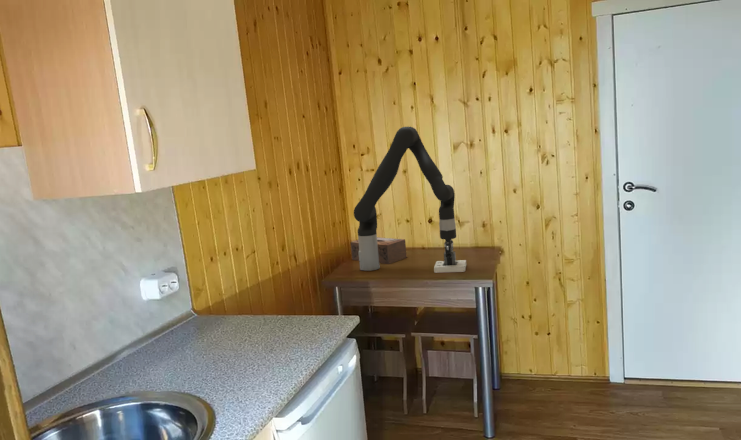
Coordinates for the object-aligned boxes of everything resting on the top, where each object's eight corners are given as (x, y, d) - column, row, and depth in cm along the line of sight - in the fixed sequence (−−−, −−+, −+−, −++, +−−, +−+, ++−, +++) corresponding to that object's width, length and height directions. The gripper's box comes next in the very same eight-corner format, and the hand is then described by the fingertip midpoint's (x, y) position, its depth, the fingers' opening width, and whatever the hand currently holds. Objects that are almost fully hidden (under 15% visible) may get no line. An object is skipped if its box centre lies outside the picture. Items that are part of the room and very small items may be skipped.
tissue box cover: (406, 258, 305) (405, 239, 303) (389, 264, 294) (387, 245, 293) (370, 254, 322) (368, 236, 320) (352, 260, 312) (350, 242, 310)
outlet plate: (434, 272, 269) (433, 267, 268) (437, 266, 280) (436, 261, 280) (464, 271, 266) (464, 266, 265) (466, 265, 277) (466, 259, 277)
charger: (444, 266, 271) (443, 253, 270) (445, 264, 275) (444, 251, 274) (455, 265, 270) (454, 253, 269) (456, 263, 274) (455, 251, 273)
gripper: (441, 225, 278) (443, 260, 280) (437, 231, 264) (440, 268, 267) (456, 224, 276) (459, 260, 279) (454, 230, 262) (457, 267, 265)
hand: (450, 263), depth 273 cm, fingers closed on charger, 3 cm apart
